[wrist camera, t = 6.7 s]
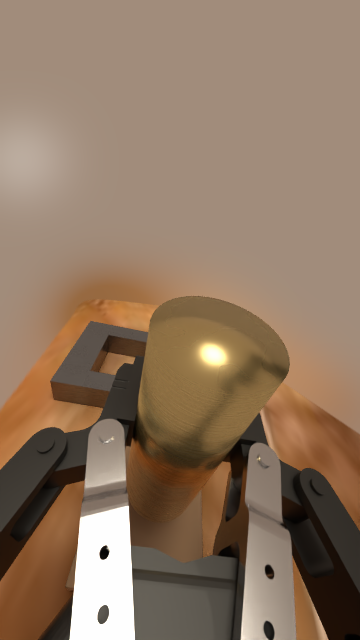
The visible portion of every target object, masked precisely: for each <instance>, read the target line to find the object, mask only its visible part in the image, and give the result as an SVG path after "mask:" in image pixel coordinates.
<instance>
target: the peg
mask: <svg viewBox="0 0 360 640" xmlns="http://www.w3.org/2000/svg"><path fill="white" fill-rule="evenodd" d="M289 365H290V363H289V356H288V352H287V350H286V347H285V345H284V343H283V342H282V340H281V339H280V337H279V336H278V335H277V333H276V332H275V331H274V330H273V329H272V328H271V327H270V326H269V325H268V324H266V323H265V322H264V321H263V320H262V319H260V318H259V317H257V316H256V315H254V314H252V313H251V312H249V311H247V310H245V309H243V308H241V307H239V306H237V305H234V304H232V303H229V302H226V301H222V300H219V299H215V298H209V297H201V296H186V297H180V298H175V299H172V300H169V301H167V302H165V303H163V304H162V305H160V306H159V307H158V308H157V309H156V310H155V312H154V313H153V315H152V317H151V319H150V325H149V332H148V338H147V345H146V351H145V358H144V364H143V370H142V377H141V383H140V390H139V396H138V403H137V413H136V420H135V426H134V432H133V438H132V443H131V448H130V455H129V461H128V468H127V474H126V486H127V492H128V498H129V500H130V502H131V504H132V506H133V508H134V509H135V510H136V511H137V513H138V514H139V515H141V516H142V517H143V518H145V519H146V520H149V521H151V522H156V523H165V522H169V521H172V520H174V519H176V518H177V517H179V516H180V515H181V514H182V513H183V512H184V511H185V510H186V509H187V507H188V506H189V505H190V503H191V502H192V501H193V500H194V498H195V497H196V496H197V494H198V493H199V492H200V490H201V489H202V488H203V486H204V485H205V484H206V482H207V481H208V480H209V478H210V477H211V476H212V474H213V473H214V472H215V470H216V469H217V468H218V466H219V465H220V464H221V462H222V461H223V460H224V458H225V457H226V456H227V454H228V453H229V452H230V450H231V449H232V448H233V446H234V445H235V444H236V443H237V441H238V440H239V439H240V437H241V436H242V435H243V433H244V432H245V431H246V429H247V428H248V427H249V425H250V424H251V423H252V421H253V420H254V419H255V417H256V416H257V415H258V413H259V412H260V411H261V409H262V408H263V407H264V405H265V404H266V403H267V401H268V400H269V399H270V397H271V396H272V395H273V393H274V392H275V391H276V389H277V388H278V387H279V385H280V384H281V383H282V382H283V380H284V379H285V378H286V376H287V374H288V371H289Z"/></svg>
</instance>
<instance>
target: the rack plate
mask: <svg viewBox="0 0 360 640" xmlns="http://www.w3.org/2000/svg"><path fill="white" fill-rule="evenodd" d="M147 338H148V332H143V331H138V330H133V329H128V328H123V327H118V326H113V325H108V324H103V323H98V322H93V321H90V323H89V324H88V326H87V327H86V329H85V330H84V332H83V333H82V335H81V336H80V338H79V339H78V341H77V342H76V344H75V345H74V347H73V348H72V349H71V351H70V352H69V354H68V355H67V357H66V358H65V360H64V361H63V363H62V364H61V366H60V367H59V369H58V370H57V372H56V373H55V375H54V376H53V378H52V379H51V381H50V382H51V387H52V392H53V397H54V400H60V401H66V402H72V403H78V404H84V405H90V406H96V407H102V408H104V405H105V403H106V400H107V397H108V395H109V392H110V389H111V387H112V384H113V381H114V379H115V376H116V375H110V374H105V373H99V370H100V367H101V365H102V363H103V361H104V359H105V357H106V355H107V352H112V353H117V354H123V355H128V356H133V357H136V355H139V356H145V351H146V345H147Z"/></svg>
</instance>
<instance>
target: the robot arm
mask: <svg viewBox="0 0 360 640" xmlns="http://www.w3.org/2000/svg"><path fill="white" fill-rule="evenodd" d="M144 358H145V356H139V355H136V358H135V361H134V364H127V363H124V364H123V365H122V366H121V367H120V368H119V369H118V371H117V373H116V376H115V379H114V381H113V384H112V387H111V389H110V392H109V395H108V397H107V400H106V403H105V405H104V408H103V411H102V414H101V416H100V418H99V419H98V420H97V422H96V423H94V424H93V425H92V426H90V427H89V428H86V429H84V430H80V431H74V432H68V433H64V432H63V431H62V430H61V429H59V428H55V427H50V428H45V429H43V430H40V431H39V432H37V433H36V434H34V435H33V436H32V437H31V438H30V439H29V440H28V441H27V442H26V443H25V444H24V445H23V446H22V448H21V449H20V450H19V451H18V452H17V453H16V454H15V455H14V456H13V457H12V458H11V459H10V460H9V461H8V462H7V463H6V464H5V465H4V467H3V468H2V469H1V470H0V581H1V579H2V578H3V576H4V575H5V573H6V572H7V570H8V569H9V567H10V566H11V564H12V563H13V562H14V560H15V559H16V557H17V556H18V554H19V553H20V551H21V550H22V548H23V547H24V545H25V544H26V542H27V541H28V540H29V538H30V537H31V535H32V534H33V532H34V531H35V529H36V528H37V526H38V525H39V523H40V522H41V520H42V519H43V518H44V516H45V515H46V513H47V512H48V510H49V509H50V507H51V506H52V504H53V503H54V501H55V500H56V498H57V497H58V496H59V494H60V493H61V491H62V490H63V488H64V487H65V485H67V484H71V483H75V482H80V481H84V480H85V487H84V497H83V501H82V507H81V517H80V529H79V541H78V552H77V564H76V576H75V588H74V594H73V595H72V596H71V598H70V599H69V600H68V602H67V603H66V604H65V605H64V607H63V608H62V609H61V611H60V612H59V613H58V614H57V616H56V617H55V618H54V620H53V621H52V622H51V623H50V625H49V626H48V627H47V629H46V630H45V631H44V632H43V634H42V635H41V636H40V638H39V639H38V640H296V623H295V604H294V584H293V565H292V556H293V558H294V560H295V563H296V565H297V567H298V569H299V572H300V574H301V576H302V579H303V581H304V583H305V586H306V588H307V590H308V593H309V595H310V597H311V600H312V602H313V604H314V606H315V609H316V611H317V613H318V616H319V618H320V620H321V623H322V625H323V627H324V630H325V632H326V634H327V637H328V639H329V640H360V531H359V529H358V528H357V526H356V525H355V523H354V522H353V520H352V518H351V517H350V515H349V514H348V512H347V510H346V509H345V507H344V506H343V504H342V503H341V501H340V499H339V498H338V496H337V495H336V493H335V492H334V490H333V488H332V487H331V485H330V484H329V482H328V481H327V480H326V478H325V477H324V476H323V475H322V474H320V473H319V472H318V471H316V470H314V469H311V468H305V469H303V470H302V471H299V470H297V469H296V468H294V467H292V466H290V465H288V464H286V463H284V462H282V461H281V460H280V459H278V457H277V455H276V453H275V452H274V451H273V450H272V449H271V448H270V447H269V445H268V443H267V439H266V436H265V432H264V428H263V424H262V420H261V416H260V413H258V415H257V416H256V417H255V419H254V420H253V421H252V423H251V424H250V425H249V427H248V428H247V429H246V431H245V432H244V433H243V435H242V436H241V437H240V439H239V440H238V441H237V443H236V444H235V445H234V446H233V448H232V449H231V450H230V452H229V453H228V454H227V456H226V457H225V458H224V460H223V461H224V462H230V463H231V471H230V472H229V475H228V481H227V487H226V494H225V500H224V507H223V514H222V520H221V524H220V526H219V529H218V531H217V534H216V538H215V543H214V548H213V555H211V556H207V557H204V558H200V559H197V560H193V561H190V562H187V563H182V562H180V561H178V560H176V559H174V558H172V557H170V556H169V555H167V554H165V553H163V552H161V551H159V550H157V549H155V548H147V547H139V546H131V545H130V527H129V505H128V492H127V486H126V464H125V449H126V446H129V447H131V443H132V438H133V432H134V426H135V420H136V413H137V403H138V396H139V390H140V383H141V377H142V370H143V364H144Z"/></svg>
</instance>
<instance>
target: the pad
mask: <svg viewBox="0 0 360 640" xmlns="http://www.w3.org/2000/svg"><path fill="white" fill-rule="evenodd" d="M130 448H131V447H129V446H126V449H125V464H126V474H127V468H128V461H129V455H130ZM128 505H129V527H130V545H131V546H139V547H147V548H155V549H157V550H159V551H161V552H163V553H165V554H167V555H169V556H170V557H172V558H174V559H176V560H178V561H180V562H182V563H187V562H190V561H193V560H197V559H200V558H203V542H202V501H201V490H200V492H199V493H198V494H197V496H196V497H195V498H194V500H193V501H192V502H191V503H190V505H189V506H188V507H187V509H186V510H185V511H184V512H183V513H182V514H181V515H180V516H179V517H177V518H176V519H174V520H172V521H169V522H165V523H156V522H151V521H149V520H146V519H145V518H143V517H142V516H141V515H139V514H138V513H137V511H136V510H135V509H134V508H133V506H132V504H131V502H130V500H129V498H128ZM77 552H78V547H77V550H76V553H75V556H74V560H73V563H72V566H71V570H70V573H69V576H68V579H67V583H66V586H65V587H66V589H67V590H70V591H74V588H75V576H76V564H77Z"/></svg>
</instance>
